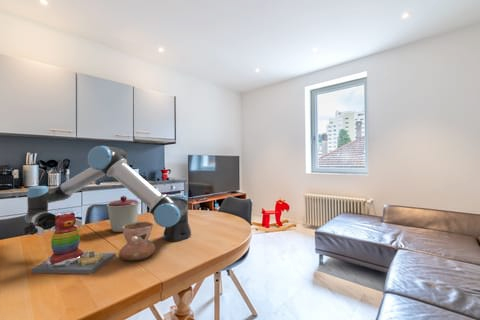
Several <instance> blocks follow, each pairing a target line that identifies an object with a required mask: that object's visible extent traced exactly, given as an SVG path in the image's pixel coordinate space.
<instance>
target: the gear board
mask: <svg viewBox="0 0 480 320" xmlns="http://www.w3.org/2000/svg"><path fill="white" fill-rule="evenodd" d="M116 256H117V253H116V252H101V251H98V252H95V251H94V250H91V251H88V254H86V255H85V256H84V257H82V258H79V259H78V262H76V263H73V264H70V266H67V267H65V266H62V267H55V268H53V269H48V266H43V262H42V263H40V264H38V265H36V266H34V267H31V268H30V269H31V271H30V272H31V273H33V274H34V273H35V274H38V273H39V274H40V273H44V274H45V273H46V274H84V275H85V274H87V275H88V274H93V273H94V272H96V271H98V270H99V269H100V268H101V267H103V266H104V265H106V264H107V263H108V262H110V261H111V260H113V259H114V258H115V257H116Z"/></svg>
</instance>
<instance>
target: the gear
mask: <svg viewBox="0 0 480 320" xmlns="http://www.w3.org/2000/svg"><path fill="white" fill-rule="evenodd" d="M80 249H81V248H80ZM81 250H82V251H83V249H81ZM83 253H84V254H83V255H82V256H80V257H77V258H70V259H67V260H64V261H61V262H59V263H50V257H51V256H52V255H53V254H52V255H49V256H48V257H47V260H43V261H42V263H43V266H48V269H53V268H55V267H62V266H65V267H67V266H70V264H73V263H76V262H78V259H79V258H82V257H84V256H85V255H86V254H88V253H89V251H88V250H85V251H83Z"/></svg>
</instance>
